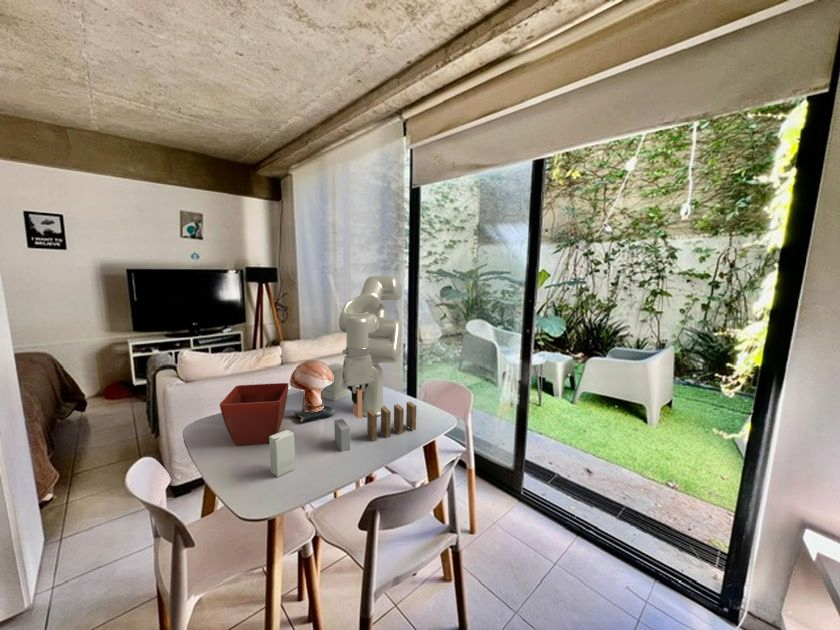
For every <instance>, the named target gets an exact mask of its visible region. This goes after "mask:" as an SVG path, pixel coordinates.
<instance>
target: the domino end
mask: <svg viewBox="0 0 840 630" xmlns="http://www.w3.org/2000/svg"><path fill="white" fill-rule="evenodd" d="M356 393H357V404H355V403H354V402H353V401H352V414H353V415H354V416H355V418H356V419H361V418H363V416H362V390H361V389H360V388H359V385H356Z"/></svg>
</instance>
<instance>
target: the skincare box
mask: <svg viewBox="0 0 840 630" xmlns="http://www.w3.org/2000/svg"><path fill="white" fill-rule="evenodd" d="M269 442H270V443H269V454H270V455H269V459H270V472H271V473H272V472H273V473H274V474H275V475H276V477H277V478H279V477H281V476H283V475H285V474H288V473H289V471H290V472H292V471H293V470H295V469H296V452H295V449H296V448H295V446H296V445H295V433H294V432H292V431H291V430H289V429H286V430H283V431H280V432H278V433H277V434H274V435H272V436H269ZM291 470H292V471H291ZM273 473H272V474H273ZM274 474H273V475H274ZM275 475H274V476H275Z"/></svg>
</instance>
